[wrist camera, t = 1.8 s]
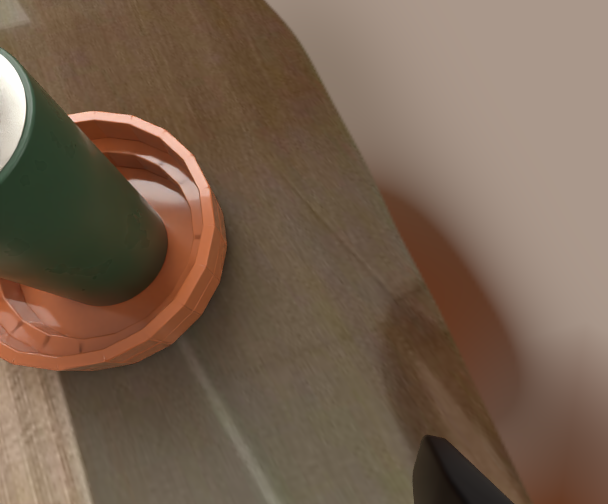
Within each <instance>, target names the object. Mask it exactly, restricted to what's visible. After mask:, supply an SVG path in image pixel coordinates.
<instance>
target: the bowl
mask: <svg viewBox="0 0 608 504" xmlns="http://www.w3.org/2000/svg"><path fill="white" fill-rule="evenodd" d="M68 116H69V117H70V118H71V119H72V120H73V121H74V123H75V124H76V125H77V126H78V127H79V128H80V129H81V130H82V131H83V132H84V133H85V135H86V136H87V137H88V138H89V139H90V140H91V141H92V142H93V143H94V144H95V145H96V147H97V148H98V149H99V150H100V151H101V152H102V153H103V154H104V155H105V156H106V157H107V159H108V160H109V161H110V162H111V163H112V164H113V165H114V166H115V167H116V168H117V169H118V170H119V172H120V173H121V174H122V175H123V176H124V177H125V178H126V179H127V180H128V181H129V182H130V184H131V185H132V186H133V187H134V188H135V189H136V190H137V191H138V192H139V193H140V194H141V196H142V197H143V198H144V199H145V200H146V201H147V202H148V203H149V204H150V205H151V206H152V207H153V209H154V210H155V211H156V212H157V213H158V214H159V216H160V217H161V219H162V221H163V223H164V225H165V229H166V232H167V239H168V244H167V254H166V257H165V261H164V263H163V266H162V268H161V270H160V272H159V273H158V275H157V276H156V278H155V279H154V280H153V282H152V283H151V284H150V285H149V286H148V287H147V288H146V289H145V290H143V291H142V292H141V293H139V294H138V295H136V296H135V297H133V298H131V299H129V300H127V301H124V302H122V303H119V304H114V305H109V306H93V305H87V304H84V303H80V302H77V301H74V300H71V299H68V298H64V297H61V296H58V295H55V294H52V293H48V292H45V291H42V290H39V289H35V288H32V287H29V286H26V285H23V284H19V283H16V282H13V281H10V280H6V279H3V278H0V358H2V359H4V360H6V361H8V362H9V363H11V364H14V365H21V366H28V367H35V368H42V369H49V370H55V371H97V370H103V369H108V368H114V367H119V366H124V365H130V364H134V363H137V362H139V361H141V360H143V359H145V358H147V357H149V356H150V355H152V354H154V353H156V352H158V351H160V350H162V349H164V348H166V347H168V346H170V345H171V344H173V343H174V342H175V341H176V340H177V339H178V338H179V337H180V336H181V335H182V334H183V333H184V332H185V331H186V330H187V329H188V328H189V327H190V326H191V325H192V324H193V323H194V322H195V321H196V320H197V319H198V318H199V317H200V316H201V315H202V314H203V312H204V310H205V308H206V306H207V305H208V303H209V301H210V299H211V297H212V295H213V294H214V292H215V290H216V288H217V286H218V285H219V283H220V280H221V275H222V269H223V264H224V259H225V254H226V249H227V240H226V232H225V225H224V217H223V212H222V209H221V207H220V205H219V203H218V201H217V199H216V197H215V195H214V193H213V191H212V189H211V187H210V186H209V184H208V182H207V180H206V178H205V176H204V174H203V172H202V170H201V168H200V166H199V164H198V162H197V160H196V159H195V157H194V155H193V154H192V153H191V152H190V151H189V150H188V149H187V148H186V147H185V146H183V145H182V144H181V143H180V142H179V141H178V140H177V139H176V138H175V137H174V136H173V135H171V134H170V133H169V132H168V131H166V130H165V129H163V128H160V127H158V126H156V125H154V124H151V123H149V122H147V121H144V120H142V119H140V118H138V117H135V116H132V115H126V114H117V113H109V112H101V111H90V112H83V113H76V114H70V115H68Z"/></svg>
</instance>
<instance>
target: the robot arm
mask: <svg viewBox="0 0 608 504" xmlns="http://www.w3.org/2000/svg"><path fill="white" fill-rule="evenodd" d="M413 494H414V504H514V503H513V502H512V501H511V500H510V499H508V498H507V497H506V496H505V495H504V494H503V493H502V492H501V491H500V490H499V489H498V488H497V487H496V486H495V485H494V484H493V483H492V482H491V481H490V480H488V479H487V478H486V477H485V476H484V475H483V474H482V473H481V472H480V471H479V470H478V469H477V468H476V467H475V466H474V465H473V464H472V463H471V462H469V461H468V460H467V459H466V458H465V457H464V456H463V455H462V454H461V453H460V452H459V451H458V450H457V449H456V448H455V447H454V446H453V445H452V444H451V443H449V442H448V441H447V440H446V439H444V438H440V437H436V436H431V435H425V436H424V437H423V439H422V441H421V444H420V448H419V451H418V455H417V459H416V462H415V466H414V470H413Z"/></svg>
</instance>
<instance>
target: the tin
mask: <svg viewBox="0 0 608 504" xmlns="http://www.w3.org/2000/svg"><path fill="white" fill-rule="evenodd" d="M167 244H168V239H167V232H166V229H165V225H164V223H163V221H162V219H161V217H160V216H159V214H158V213H157V212H156V211H155V210H154V209H153V207H152V206H151V205H150V204H149V203H148V202H147V201H146V200H145V199H144V198H143V197H142V196H141V194H140V193H139V192H138V191H137V190H136V189H135V188H134V187H133V186H132V185H131V184H130V182H129V181H128V180H127V179H126V178H125V177H124V176H123V175H122V174H121V173H120V172H119V170H118V169H117V168H116V167H115V166H114V165H113V164H112V163H111V162H110V161H109V160H108V159H107V157H106V156H105V155H104V154H103V153H102V152H101V151H100V150H99V149H98V148H97V147H96V145H95V144H94V143H93V142H92V141H91V140H90V139H89V138H88V137H87V136H86V135H85V133H84V132H83V131H82V130H81V129H80V128H79V127H78V126H77V125H76V124H75V123H74V121H73V120H72V119H71V118H70V117H69V116H68V115H67V114H66V113H65V112H64V111H63V110H62V108H61V107H60V106H59V105H58V104H57V103H56V102H55V101H54V100H53V99H52V98H51V96H50V95H49V94H48V93H47V92H46V91H45V90H44V89H43V88H42V87H41V86H40V84H39V83H38V82H37V81H36V80H35V79H34V78H33V77H32V76H31V75H30V74H29V73H28V71H27V70H26V69H25V68H24V67H23V66H22V65H21V64H20V63H19V62H18V61H17V59H16V58H14V57H13V56H12V55H11V54H10V53H8V52H7V51H6V50H4V49H3V48H1V47H0V278H3V279H6V280H10V281H13V282H16V283H19V284H23V285H26V286H29V287H32V288H35V289H39V290H42V291H45V292H48V293H52V294H55V295H58V296H61V297H64V298H68V299H71V300H74V301H77V302H80V303H84V304H87V305H93V306H109V305H114V304H119V303H122V302H124V301H127V300H129V299H131V298H133V297H135V296H136V295H138V294H139V293H141V292H142V291H143V290H145V289H146V288H147V287H148V286H149V285H150V284H151V283H152V282H153V280H154V279H155V278H156V276H157V275H158V273H159V272H160V270H161V268H162V266H163V263H164V261H165V257H166V254H167Z"/></svg>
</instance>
